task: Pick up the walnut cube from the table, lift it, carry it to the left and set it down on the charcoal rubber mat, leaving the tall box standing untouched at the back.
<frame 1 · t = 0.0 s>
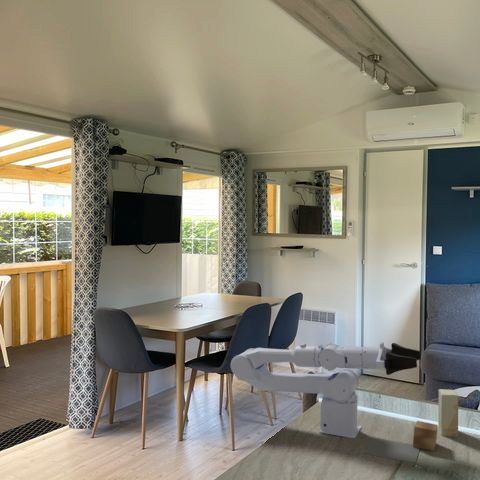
hand: (418, 359, 136), 22 cm above the table, tool horizontal, fingers open, 7 cm apart
box: (447, 433, 144), on the table
mat: (392, 451, 133), on the table
cube: (424, 445, 136), on the table, touching mat
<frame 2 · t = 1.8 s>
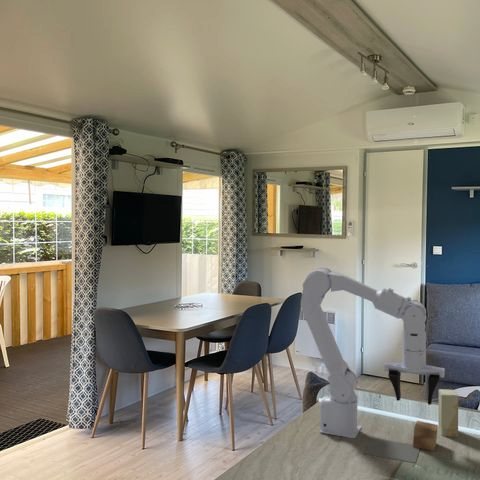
hand: (413, 401, 139), 10 cm above the table, tool pointing down, fingers open, 7 cm apart
nothing on the table moved.
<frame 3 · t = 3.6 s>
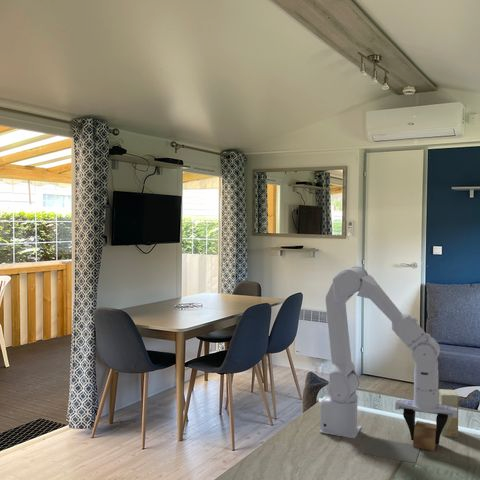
hand: (425, 441, 136), 1 cm above the table, tool pointing down, fingers closed on cube, 5 cm apart
cube: (424, 445, 136), on the table, touching gripper, mat
everything else where it was.
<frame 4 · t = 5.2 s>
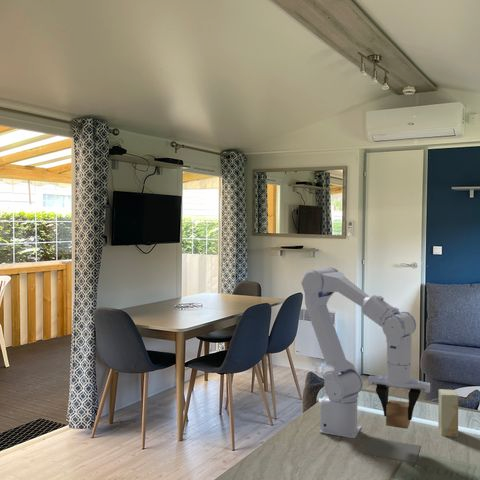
hand: (398, 416, 133), 8 cm above the table, tool pointing down, fingers closed on cube, 5 cm apart
cube: (398, 424, 134), point 7 cm above the table, touching gripper
everything else where it was.
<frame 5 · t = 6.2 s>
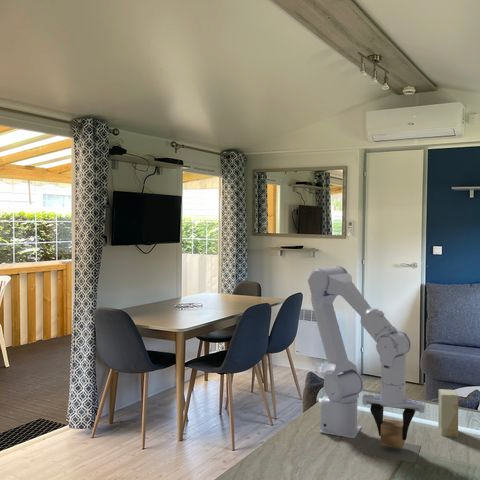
hand: (392, 436, 133), 4 cm above the table, tool pointing down, fingers closed on cube, 5 cm apart
cube: (392, 443, 133), point 2 cm above the table, touching gripper
everything else where it was.
when the fingers open (3 cm above the table, at t = 6.9 s): cube stays where it is, resting on mat.
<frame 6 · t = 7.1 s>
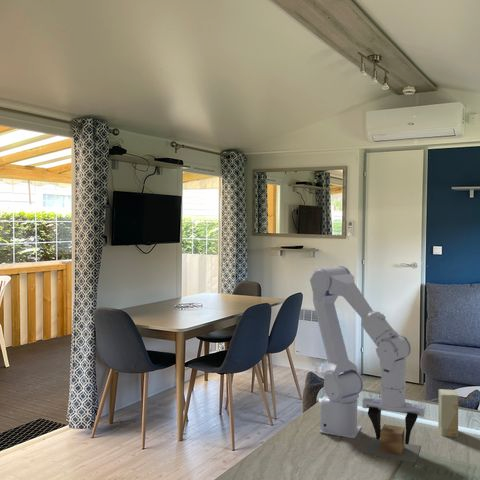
hand: (392, 440, 133), 3 cm above the table, tool pointing down, fingers open, 6 cm apart
cube: (392, 449, 133), resting on mat
everything else where it was.
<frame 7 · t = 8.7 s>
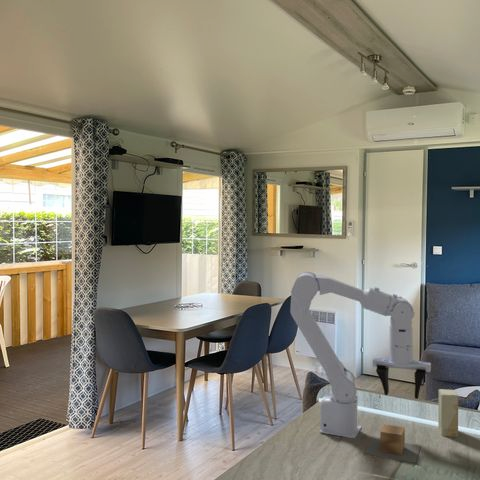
hand: (401, 395, 143), 10 cm above the table, tool pointing down, fingers open, 7 cm apart
nothing on the table moved.
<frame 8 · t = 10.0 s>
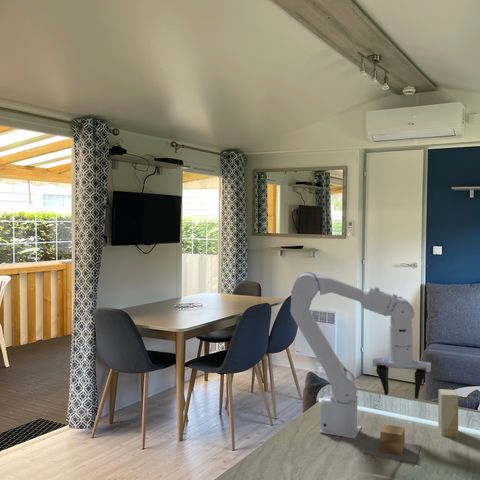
hand: (401, 395, 143), 10 cm above the table, tool pointing down, fingers open, 7 cm apart
nothing on the table moved.
at the end: cube inside the target area on the mat (0.0 cm from its centre), point 0.4 cm above the mat's base; cube tilted 0°; the gripper is holding nothing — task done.
